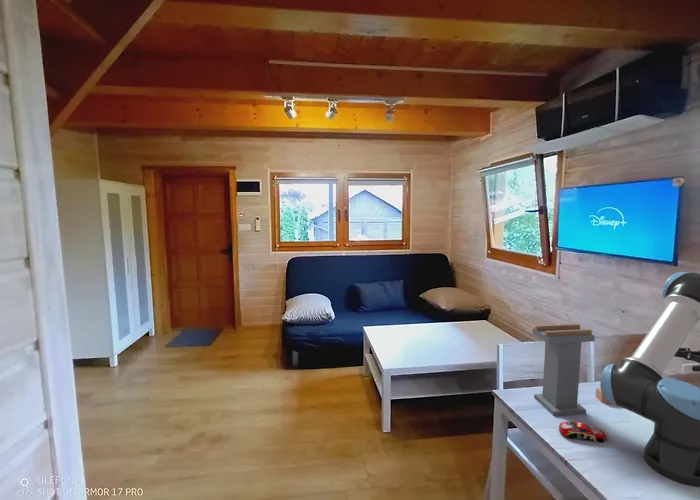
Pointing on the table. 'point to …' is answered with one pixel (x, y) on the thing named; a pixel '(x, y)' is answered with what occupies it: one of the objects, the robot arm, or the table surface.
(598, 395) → the bar
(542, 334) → the stand
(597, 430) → the race car
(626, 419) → the table surface
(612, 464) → the table surface
